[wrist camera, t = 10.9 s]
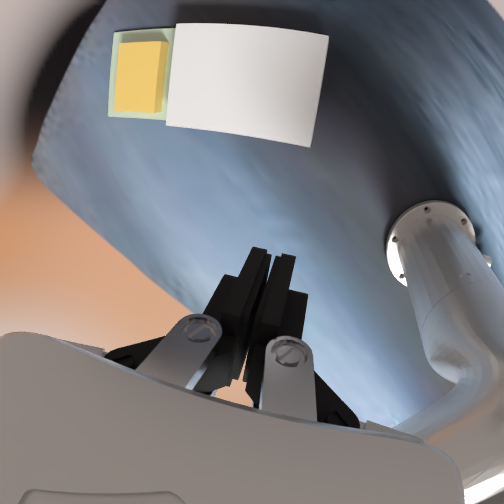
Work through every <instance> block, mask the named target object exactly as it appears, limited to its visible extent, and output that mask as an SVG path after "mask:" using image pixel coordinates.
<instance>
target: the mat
mask: <svg viewBox="0 0 504 504" xmlns="http://www.w3.org/2000/svg"><path fill="white" fill-rule="evenodd" d="M175 30H176V28H165V29H147V30H134V31H124V32H115V33H114V39H113V48H112V58H111V70H110V85H109V105H108V117H129V118H145V119H159V120H166V119H167V105H168V93H169V82H170V72H171V63H172V54H173V45H174V38H175ZM151 41H163V42H168V43H169V46H168V54H167V62H166V71H165V81H164V91H163V102H162V112H157V113H144V112H127V111H114V101H115V85H116V72H117V61H118V51H119V43H131V42H151Z"/></svg>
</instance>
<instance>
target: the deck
mask: <svg viewBox="0 0 504 504" xmlns="http://www.w3.org/2000/svg"><path fill="white" fill-rule="evenodd" d="M328 43H329V36H327V35H321V34H316V33H310V32H304V31H297V30H290V29H282V28H274V27H264V26H253V25H238V24H215V23H180V24H176V30H175V38H174V45H173V54H172V63H171V72H170V82H169V93H168V105H167V119H166V125H167V126H177V127H186V128H195V129H203V130H211V131H218V132H225V133H232V134H239V135H245V136H251V137H257V138H263V139H269V140H274V141H280V142H285V143H290V144H295V145H300V146H305V147H310V145H311V142H312V137H313V131H314V126H315V120H316V115H317V109H318V104H319V98H320V92H321V86H322V80H323V74H324V68H325V62H326V56H327V50H328Z"/></svg>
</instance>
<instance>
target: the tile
mask: <svg viewBox="0 0 504 504" xmlns="http://www.w3.org/2000/svg"><path fill="white" fill-rule="evenodd" d="M168 46H169V43H168V42H163V41H151V42H131V43H119V51H118V61H117V72H116V85H115V101H114V111H127V112H144V113H157V112H162V102H163V91H164V81H165V71H166V62H167V54H168Z"/></svg>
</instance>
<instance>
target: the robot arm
mask: <svg viewBox="0 0 504 504" xmlns="http://www.w3.org/2000/svg"><path fill="white" fill-rule="evenodd" d="M425 207H427V208H426V209H424V208H425ZM462 219H463V220H462ZM394 236H396V237H395V238H393V237H394ZM271 256H272V255H271V254H267V250H266V249H261V248H257V247H252V249H251V251H250V253H249V256H248V258H247V260H246V262H245V264H244V266H243V268H242V270H241V272H240V274H239V276H238V277H235V276H230V275H226V274H225V275H224V276H223V278H222V279H221V281H220V283H219V285H218V287H217V288H216V290H215V292H214V294H213V296H212V298H211V299H210V301H209V303H208V305H207V307H206V309H205V310H204V312H203V314H191V315H188V316H185V317H183V318H182V319H181V320H180V321H178V323H177V324H176V325H175V326H174V327H173V328H172V329H171V331H170V332H169V333H168V334H167V335H166V336H163V337H159V338H156V339H152V340H148V341H145V342H141V343H137V344H133V345H130V346H126V347H121V348H117V349H115V350H112V351H110V352H109V353H107V352H105V350H104V349H102V348H98V347H93V346H88V345H83V344H78V343H74V342H69V341H65V340H60V339H56V338H53V337H50V336H46V335H42V334H38V333H30V332H12V333H8V334H5V335H3V336H1V337H0V504H504V288H503V287H502V285H501V283H500V282H499V280H498V279H497V277H496V276H495V274H494V273H493V271H492V270H491V268H490V265H491V263H492V258H491V257H490V256H487V255H482V254H481V252H480V251H479V250H478V248H477V247H476V245H475V232H474V228H473V225H472V223H471V221H470V220H469V218H468V217H467V216H466V214H465V213H464V212H463V211H462V210H461V209H460V208H459V207H457V206H455V205H454V204H452V203H449V202H446V201H441V200H430V201H424V202H421V203H418V204H416V205H414V206H412V207H410V208H409V209H407V210H406V211H405V212H404V213H402V214H401V215H400V216H399V218H398V219H397V220H396V221H395V223H394V224H393V226H392V227H391V229H390V232H389V234H388V237H387V242H386V257H387V262H388V265H389V268H390V270H391V272H392V273H393V275H394V276H395V278H396V279H397V280H398V281H399V282H401V283H402V284H404V285H405V286H407V287H408V291H409V294H410V298H411V301H412V305H413V309H414V312H415V316H416V320H417V324H418V328H419V332H420V336H421V340H422V344H423V348H424V352H425V355H426V358H427V360H428V362H429V364H430V365H431V367H432V368H433V369H434V370H435V371H436V372H437V373H438V374H439V375H441V376H442V377H444V378H445V379H447V380H449V381H451V382H453V383H456V386H455V387H454V388H453V389H452V390H451V391H449V392H448V393H447V394H445V395H444V396H443V397H441V398H440V399H438V400H437V401H436V402H435V403H433V404H432V405H430V406H429V407H427V408H426V409H424V410H422V411H421V412H419V413H417V414H416V415H414V416H412V417H411V418H409V419H407V420H405V421H404V422H402V423H400V424H398V425H397V426H395V427H393V428H389V427H386V426H383V425H380V424H377V423H374V422H371V421H368V420H367V422H366V423H364V422H361V421H359V420H358V418H357V416H356V415H355V414H354V412H353V411H352V410H351V409H350V408H349V407H348V406H347V405H346V404H345V403H344V402H343V401H342V400H341V399H340V398H339V397H338V396H337V395H336V393H335V392H334V391H333V390H332V389H331V388H330V387H329V386H328V385H327V384H326V383H325V382H324V381H323V380H322V379H321V378H320V376H319V375H318V374H317V373H316V372H315V371H314V364H313V354H312V350H311V349H310V347H309V346H308V345H307V344H306V343H305V342H304V341H302V340H301V339H302V333H303V326H304V320H305V313H306V307H307V300H308V294H306V293H302V292H297V291H293V290H289V285H290V281H291V277H292V272H293V268H294V263H295V259H296V256H292V255H287V254H283V253H282V256H281V257H279V256H276V257H275V260H274V263H273V266H272V269H271V272H270V275H269V278H268V280H267V277H268V272H269V267H270V261H271ZM266 282H267V283H266ZM247 352H248V354H247ZM246 355H247V360H246V366H245V370H244V376H243V382H247V384H246V389H245V391H246V392H247V394H248V395H249V396H250V398H251V399H252V401H253V403H252V407H248V406H245V405H241V404H237V403H233V402H230V401H226V400H223V399H219V398H216V397H215V394H216V391H217V389H219V388H222V387H225V386H229V387H230V385H231V382H232V379H236V380H238V379H239V376H240V373H241V370H242V367H243V364H244V361H245V358H246Z"/></svg>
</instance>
